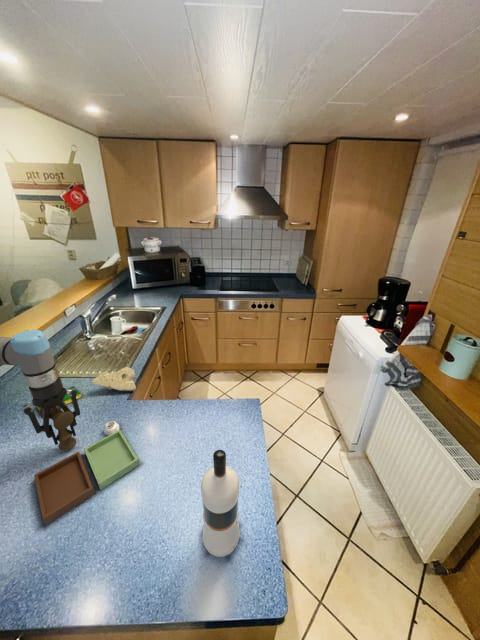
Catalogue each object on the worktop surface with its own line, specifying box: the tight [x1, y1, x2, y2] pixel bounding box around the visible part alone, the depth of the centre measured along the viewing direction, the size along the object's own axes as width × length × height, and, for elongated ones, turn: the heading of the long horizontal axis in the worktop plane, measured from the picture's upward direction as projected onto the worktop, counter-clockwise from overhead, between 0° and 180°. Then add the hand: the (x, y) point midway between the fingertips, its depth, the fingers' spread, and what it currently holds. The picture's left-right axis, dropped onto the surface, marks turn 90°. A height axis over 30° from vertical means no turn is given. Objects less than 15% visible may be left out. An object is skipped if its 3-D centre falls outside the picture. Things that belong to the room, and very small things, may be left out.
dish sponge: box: [36, 385, 82, 412], centre depth 103 cm, size 7×14×2 cm, turn 141°
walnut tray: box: [33, 451, 96, 526], centre depth 72 cm, size 16×12×3 cm
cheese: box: [91, 366, 137, 392], centre depth 111 cm, size 15×7×15 cm
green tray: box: [83, 429, 141, 491], centre depth 81 cm, size 16×12×3 cm
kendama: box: [38, 405, 77, 452], centre depth 80 cm, size 6×10×20 cm, turn 59°
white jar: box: [103, 420, 120, 436], centre depth 91 cm, size 5×3×5 cm
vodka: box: [200, 449, 241, 558], centre depth 57 cm, size 9×9×30 cm
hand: (65, 437), depth 83 cm, fingers closed on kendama, 4 cm apart
